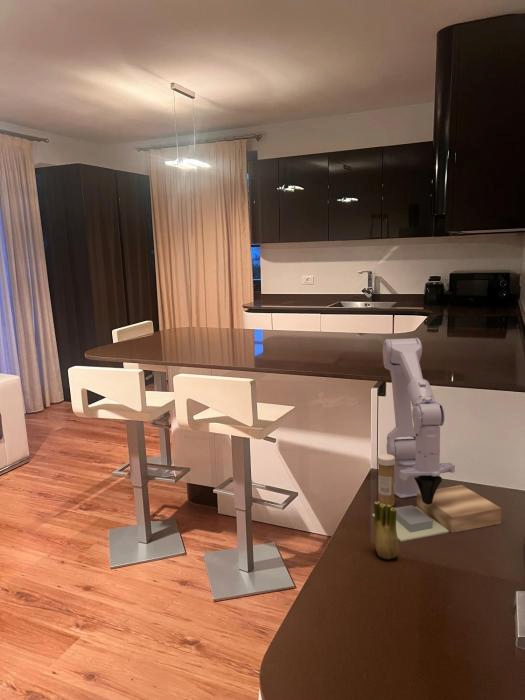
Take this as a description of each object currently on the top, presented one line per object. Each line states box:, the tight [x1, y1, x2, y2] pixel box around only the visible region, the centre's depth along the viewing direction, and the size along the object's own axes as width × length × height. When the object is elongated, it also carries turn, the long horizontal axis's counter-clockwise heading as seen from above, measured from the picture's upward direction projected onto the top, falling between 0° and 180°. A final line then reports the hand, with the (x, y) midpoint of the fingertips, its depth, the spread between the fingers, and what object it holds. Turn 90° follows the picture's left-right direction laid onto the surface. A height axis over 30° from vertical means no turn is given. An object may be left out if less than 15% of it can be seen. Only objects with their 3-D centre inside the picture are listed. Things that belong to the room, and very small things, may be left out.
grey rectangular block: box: [394, 504, 433, 532], centre depth 126 cm, size 9×6×2 cm, turn 16°
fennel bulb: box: [373, 501, 400, 560], centre depth 111 cm, size 6×5×12 cm
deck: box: [416, 484, 502, 534], centre depth 129 cm, size 15×14×4 cm
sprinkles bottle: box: [377, 453, 396, 507], centre depth 136 cm, size 5×5×13 cm
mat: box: [371, 506, 450, 543], centre depth 126 cm, size 14×13×1 cm
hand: (427, 502), depth 127 cm, fingers closed
